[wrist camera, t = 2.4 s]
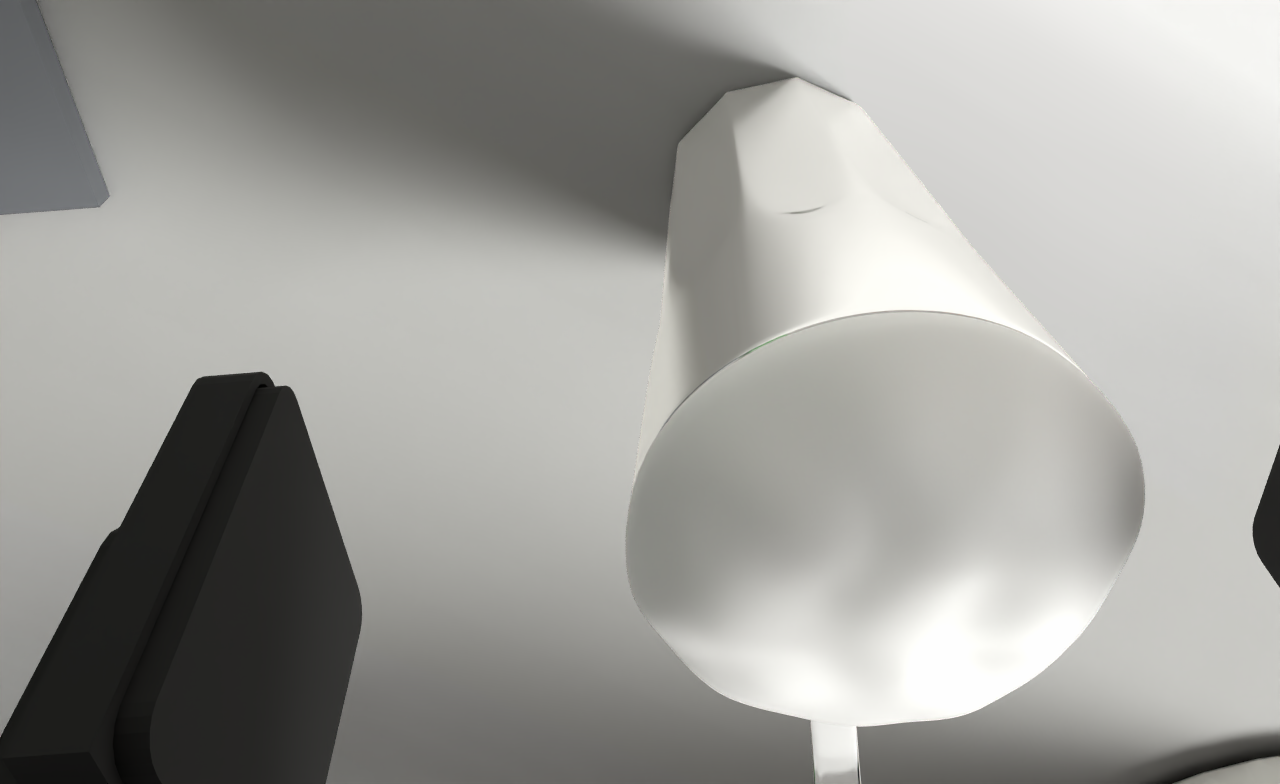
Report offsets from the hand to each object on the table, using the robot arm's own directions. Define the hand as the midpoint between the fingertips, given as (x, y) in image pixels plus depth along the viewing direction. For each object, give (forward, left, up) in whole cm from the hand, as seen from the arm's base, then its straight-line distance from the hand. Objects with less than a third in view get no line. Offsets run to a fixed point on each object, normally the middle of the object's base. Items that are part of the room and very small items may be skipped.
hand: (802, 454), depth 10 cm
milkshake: (-1, -1, -8) cm, 8 cm away
